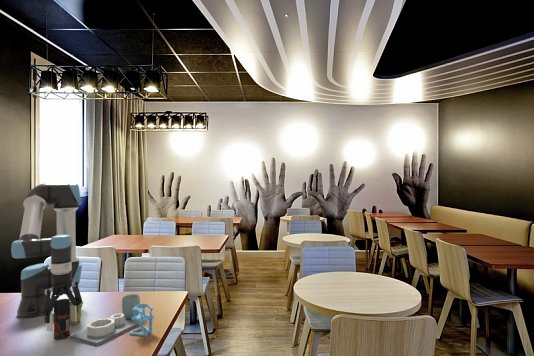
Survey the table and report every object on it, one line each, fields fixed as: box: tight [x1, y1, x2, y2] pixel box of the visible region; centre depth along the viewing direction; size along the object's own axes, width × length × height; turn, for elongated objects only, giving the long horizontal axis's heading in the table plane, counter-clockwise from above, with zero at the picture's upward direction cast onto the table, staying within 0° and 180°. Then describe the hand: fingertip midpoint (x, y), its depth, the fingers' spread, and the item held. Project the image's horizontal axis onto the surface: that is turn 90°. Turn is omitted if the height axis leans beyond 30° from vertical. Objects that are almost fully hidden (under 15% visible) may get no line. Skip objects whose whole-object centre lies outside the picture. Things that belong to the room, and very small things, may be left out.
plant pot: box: [70, 300, 84, 326], centre depth 164 cm, size 9×9×9 cm
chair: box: [128, 303, 155, 338], centre depth 151 cm, size 8×8×12 cm
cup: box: [121, 293, 141, 320], centre depth 168 cm, size 8×8×10 cm
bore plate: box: [69, 313, 140, 347], centre depth 153 cm, size 16×22×5 cm
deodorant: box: [53, 298, 71, 341], centre depth 149 cm, size 6×6×15 cm
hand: (62, 325), depth 148 cm, fingers open, 10 cm apart
